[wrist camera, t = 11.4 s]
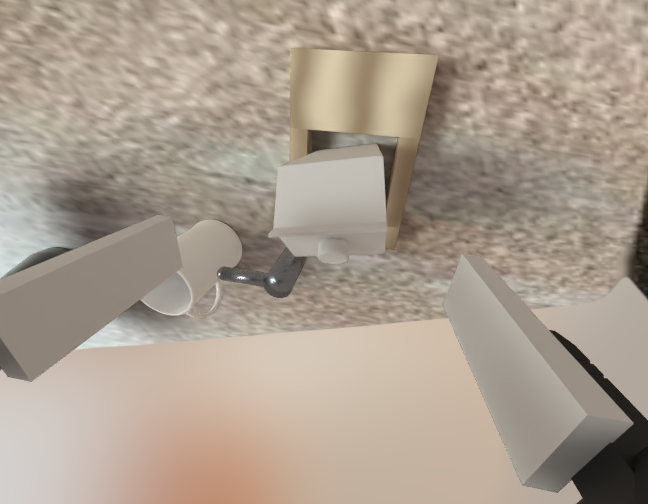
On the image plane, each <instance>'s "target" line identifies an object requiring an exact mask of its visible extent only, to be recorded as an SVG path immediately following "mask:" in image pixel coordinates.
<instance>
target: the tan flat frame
mask: <svg viewBox="0 0 648 504" xmlns="http://www.w3.org/2000/svg"><path fill="white" fill-rule="evenodd" d="M438 57H439V55H425V54H404V53H383V52H362V51H341V50H320V49H299V48H291V74H290V162H292V161H294V160H296V159H299V158H301V157H304V156H306V155H308V154H311V146H312V130H322V131H333V132H345V133H357V134H369V135H381V136H392V137H398V139H397V144H396V150H395V155H394V160H393V165H392V171H391V176H390V181H389V187H388V192H387V197H386V220H387V227H388V231H386V242H385V249H392V250H395V246H396V242H397V238H398V233H399V229H400V224H401V220H402V216H403V211H404V207H405V202H406V198H407V193H408V189H409V185H410V180H411V176H412V171H413V167H414V163H415V158H416V154H417V149H418V145H419V140H420V136H421V132H422V127H423V123H424V118H425V114H426V110H427V105H428V101H429V96H430V92H431V88H432V83H433V79H434V74H435V70H436V65H437V61H438Z"/></svg>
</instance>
